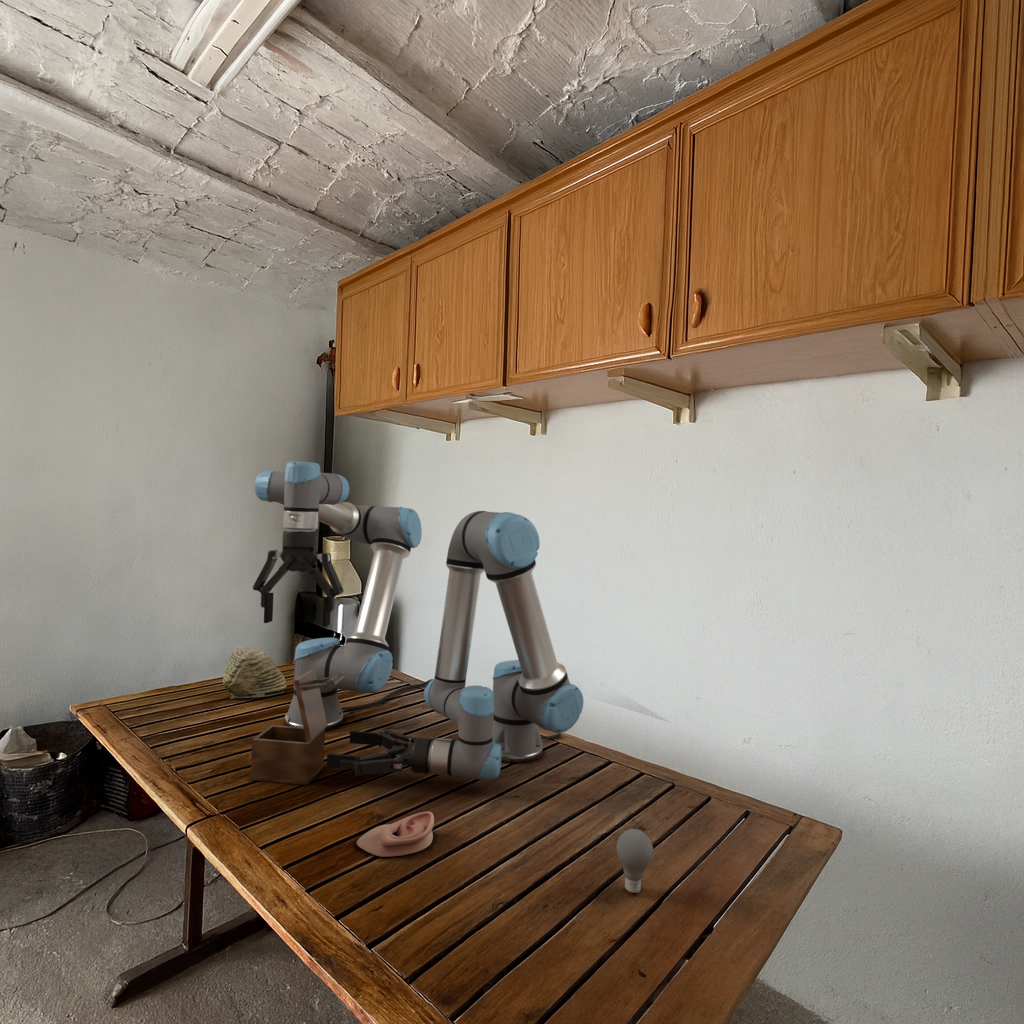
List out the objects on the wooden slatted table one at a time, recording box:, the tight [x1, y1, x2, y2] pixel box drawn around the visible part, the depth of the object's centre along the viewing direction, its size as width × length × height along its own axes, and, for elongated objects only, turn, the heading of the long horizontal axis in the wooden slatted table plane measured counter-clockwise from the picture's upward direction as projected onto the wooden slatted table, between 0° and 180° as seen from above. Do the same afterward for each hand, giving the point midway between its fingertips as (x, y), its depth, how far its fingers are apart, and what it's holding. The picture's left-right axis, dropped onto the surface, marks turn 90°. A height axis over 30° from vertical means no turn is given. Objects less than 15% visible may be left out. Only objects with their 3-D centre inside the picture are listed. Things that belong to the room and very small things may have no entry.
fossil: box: [222, 646, 288, 699], centre depth 198 cm, size 9×18×15 cm, turn 132°
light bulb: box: [615, 828, 654, 894], centre depth 106 cm, size 6×6×10 cm
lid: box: [293, 669, 345, 741], centre depth 143 cm, size 14×9×8 cm
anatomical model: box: [356, 811, 435, 858], centre depth 118 cm, size 13×4×12 cm
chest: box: [250, 724, 326, 786], centre depth 144 cm, size 13×9×9 cm
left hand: (297, 624), depth 143 cm, fingers open, 13 cm apart
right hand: (339, 747), depth 143 cm, fingers open, 13 cm apart
